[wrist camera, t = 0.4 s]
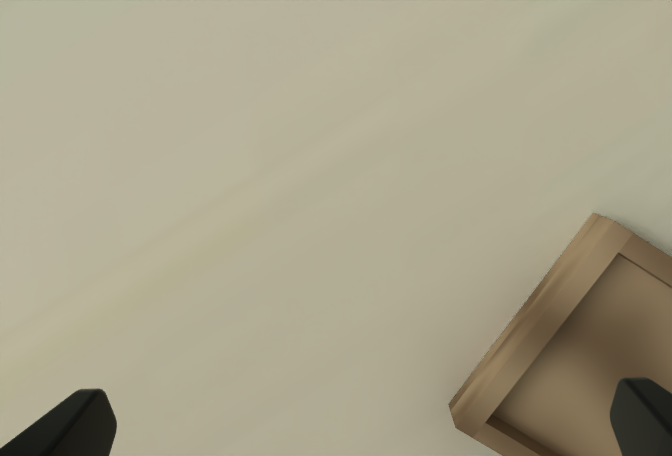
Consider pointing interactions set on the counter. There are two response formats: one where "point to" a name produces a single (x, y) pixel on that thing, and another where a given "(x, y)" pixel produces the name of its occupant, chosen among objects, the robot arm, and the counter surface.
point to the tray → (574, 349)
